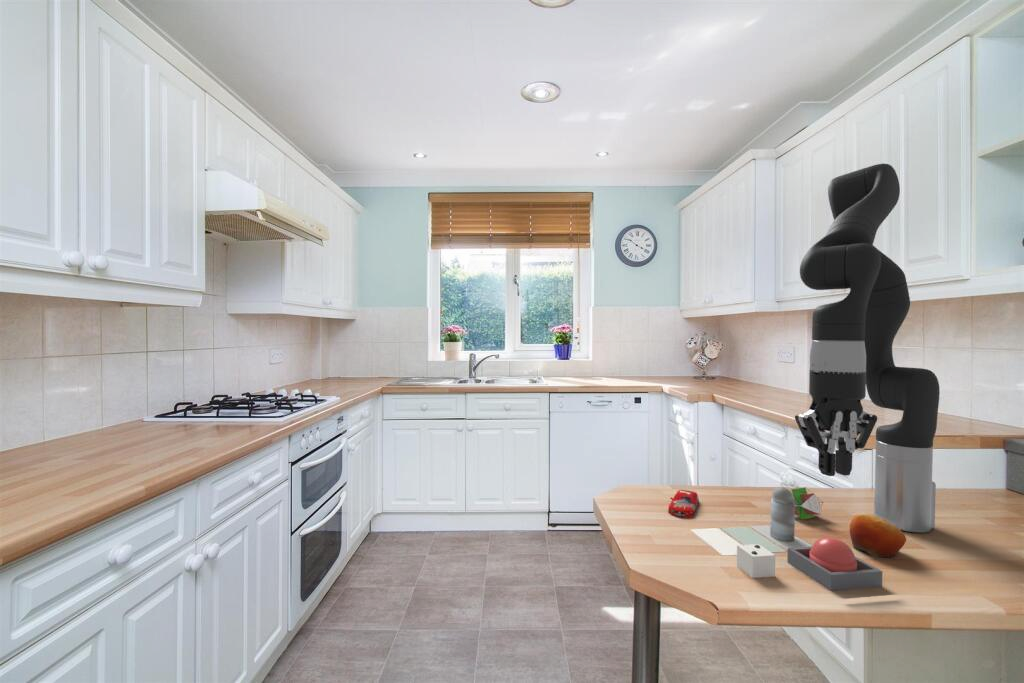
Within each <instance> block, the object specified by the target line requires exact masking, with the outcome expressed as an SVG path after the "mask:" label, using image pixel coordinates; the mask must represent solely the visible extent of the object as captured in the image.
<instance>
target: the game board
mask: <svg viewBox="0 0 1024 683" xmlns="http://www.w3.org/2000/svg"><path fill="white" fill-rule="evenodd" d="M770 527H771V524H769V525H766V524H765V525H752V526H733V527H731V526H730V527H729V526H727V527H719V528H718V527H714V528H710V527H709V528H695V529H693V528H692V529H690V531H691V532H692V533H693V534H695V535H696V536H697V537H699V539H701V540H702V541H703V542H705V543H706V544H707V545H709V546H710V547H711V548H713V549H714V550H715V551H716V552H718V553H719V554H720V555H721V556H723V557H725V556H737V545H751V544H759V545H761V546H762V547H764V548H765V549H767V550H768V551H770V552H771V553H773V554H775V553H786V552H787V553H788V548H797V547H812V546H813V544H810V543H808V542H806V541H805V540H803V539H801V538H799V537H798V536H796V535H794V541H792V542H784V541H779V540H776V539H774V538H772V537H771V536H770Z"/></svg>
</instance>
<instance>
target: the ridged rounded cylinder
mask: <svg viewBox="0 0 1024 683" xmlns="http://www.w3.org/2000/svg"><path fill="white" fill-rule="evenodd" d="M772 491H773V492H772V496H771V499H770V525H771V527H770V536H771V537H772V538H774V539H776V540H779V541H784V542H792V541H794V536H795V527H796V526H795V522H796V520H795V518H796V516H795V515H796V513H795V502H793V501H794V496H793V493H792V490H791V489H788V488H786V487H777V488H775V489H774V490H772Z"/></svg>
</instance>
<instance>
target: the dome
mask: <svg viewBox="0 0 1024 683" xmlns="http://www.w3.org/2000/svg"><path fill="white" fill-rule="evenodd" d="M855 557H856V556H855V553H854V552H853V550H852V549H851V548H850V546H849V545H848V544H846V543H845V542H844V541H842V540H841V539H839V538H836V537H831V536H830V537H829V536H827V537H820V538H818V539H817V540H816V541H814V542H813V543H812V548H811V550H810V554H809V559H810V560H812V561H814V562H815V563H817V564H819V565H820V566H822V567H823V568H825V569H827V570H828V571H830V572H844V571H857V561H856V560H855Z"/></svg>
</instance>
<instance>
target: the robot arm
mask: <svg viewBox="0 0 1024 683" xmlns="http://www.w3.org/2000/svg"><path fill="white" fill-rule="evenodd" d="M900 186H901V185H900V181H899V177H898V174H897V172H896V170H895V168H894V167H893V166H892V165H891V164H888V163H878V164H874V165H870V166H867V167H863V168H860V169H858V170H855V171H851V172H849V173H848V172H847V173H845V174H841V175H839V176H837V177H833V178H832V179H831V180H830V181H829V183H828V187H827V196H828V202H829V206H830V211H831V214H832V217H833V221H832V223H831V224H830V226H829V228H828V230H827V232H826V235H825V236H823V237H822V238H820V240H818V241H817V242H816V243H815V244H813V245H812V246H810V247H809V249H808V250H807V251H806V252H805V254H804V255H803V258H802V260H801V262H800V267H799V276H800V279H801V281H802V283H803V284H804V285H805V286H806V287H807V288H809V289H812V290H814V291H815V290H816V291H824V290H825V291H828V290H829V291H830V290H846V289H847V290H848V289H850V291H849V293H848V294H847V296H845V298H843V299H842V300H839V301H835V302H831V303H827V304H822V305H818V306H817V307H815V308H814V309H813V312H812V315H811V316H812V318H811V320H812V321H811V322H812V325H811V347H810V351H809V352H810V353H809V380H808V382H809V383H808V384H809V385H808V386H809V387H808V388H809V389H808V393H809V395H810V396H811V398H812V401H811V404H810V405H809V410H808V411H806V412H805V413H796V415H795V416H794V420H795V421H796V424H797V426H798V428H799V430H800V433H801V435H802V437H803V439H804V441H805V443H806V446H807V447H810V448H813V449H816V450H817V451H818V466H817V467H818V469H819V472H820V473H821V474H822V475H825V476H828V477H835V475H836V474H839V475H842V476H850V475H851V472H852V469H853V454H854V453H855V451H856V450H857V449H864V448H865V447H866V444H867V443H868V440H869V438H870V436H871V434H872V432H873V430H874V428H875V426H876V423H877V421H878V416H877V415H876V414H871V413H867V412H866V411H865V410H864V406H863V405H862V403H861V401H862V400H864V399H865V398H866V392H867V395H868V397H869V399H870V401H871V403H873V404H874V405H875V406H877V407H878V408H879V407H880V408H881V409H882V408H883V409H888V410H894V411H902V417H901V420H899V421H897V422H896V423H891V424H885V425H879V426H877V428H876V429H875V459H874V460H875V461H874V462H875V463H874V464H875V466H874V502H873V503H874V504H873V506H874V508H873V515H875V516H877V517H879V518H882V519H884V520H886V521H888V522H890V523H892V524H894V525H896V526H897V527H898V528H899V529H900V530H901V531H903V532H904V531H905V532H909V533H910V532H912V533H922V534H923V533H928V532H931V530H932V529H935V527H936V492H937V490H936V488H937V484H936V482H934V481H933V454H934V453H933V452H934V438H935V435H936V432H937V428H938V426H937V425H938V415H939V414H938V413H939V403H940V392H941V391H940V383H939V380H938V377H937V376H936V374H935V373H934V372H933V371H932V370H930V369H928V368H921V367H905V366H896V365H895V362H894V357H893V356H894V355H893V343H894V340H895V338H896V335H897V333H898V332H899V330H900V327H901V326H902V325H903V323H904V321H905V320H906V318H907V316H908V313H909V310H910V306H911V299H910V298H911V296H910V292H909V288H908V282H907V277H906V275H905V273H904V271H903V269H902V268H901V267H900V266H899V265H898V264H897V263H896V262H895V261H893V260H892V259H891V258H890V257H888V256H887V254H884V252H883V251H881V250H879V249H878V248H877V247H876V246H874V243H875V239H876V235H877V232H878V230H879V228H880V226H881V225H882V223H883V222H884V221H885V220H886V219H887V217H888V216H889V215H890V213H891V212H892V211H893V210H894V208H895V207H896V206H897V204H898V201H899V198H900V194H901V190H900ZM858 435H859V436H858ZM835 449H836V450H835ZM834 452H835V453H834Z"/></svg>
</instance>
